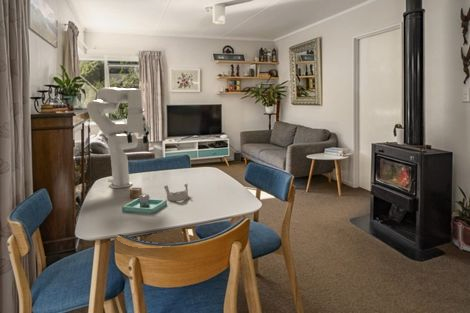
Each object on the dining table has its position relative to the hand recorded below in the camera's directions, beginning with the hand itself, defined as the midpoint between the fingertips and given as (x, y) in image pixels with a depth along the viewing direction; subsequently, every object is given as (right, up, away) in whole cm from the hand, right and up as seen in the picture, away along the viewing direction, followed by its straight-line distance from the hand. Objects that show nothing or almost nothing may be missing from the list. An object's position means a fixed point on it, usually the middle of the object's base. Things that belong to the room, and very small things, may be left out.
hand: (137, 142), depth 181 cm
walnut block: (+1, -30, -5) cm, 30 cm away
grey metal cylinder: (+10, -32, -22) cm, 40 cm away
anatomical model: (+24, -30, -8) cm, 39 cm away
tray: (+10, -33, -22) cm, 41 cm away
